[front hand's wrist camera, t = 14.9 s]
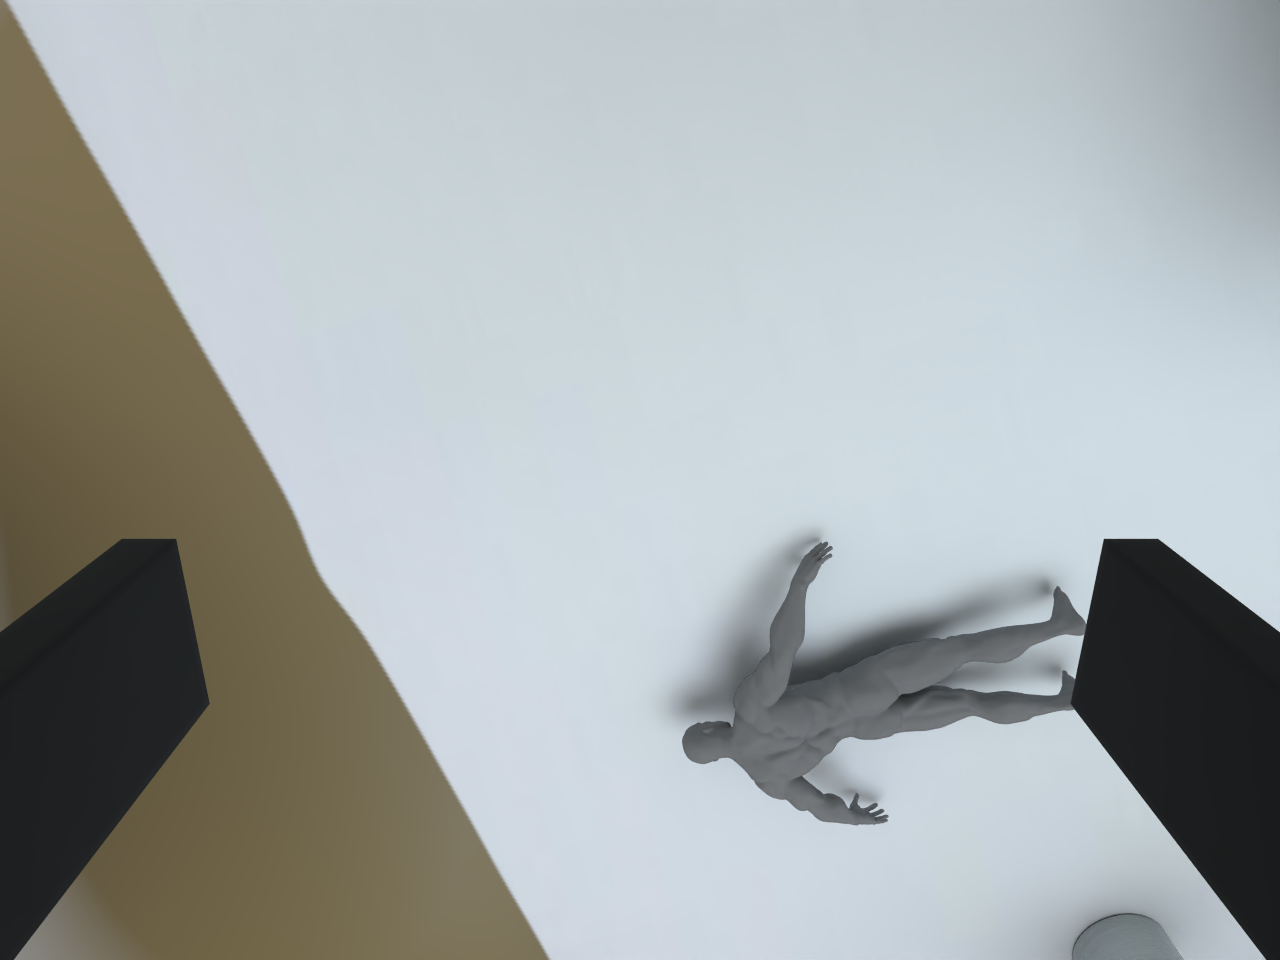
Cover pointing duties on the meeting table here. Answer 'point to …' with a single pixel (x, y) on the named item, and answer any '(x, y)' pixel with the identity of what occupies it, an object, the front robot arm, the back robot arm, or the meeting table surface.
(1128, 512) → the meeting table surface
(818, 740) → the figurine
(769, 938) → the meeting table surface
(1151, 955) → the tin
